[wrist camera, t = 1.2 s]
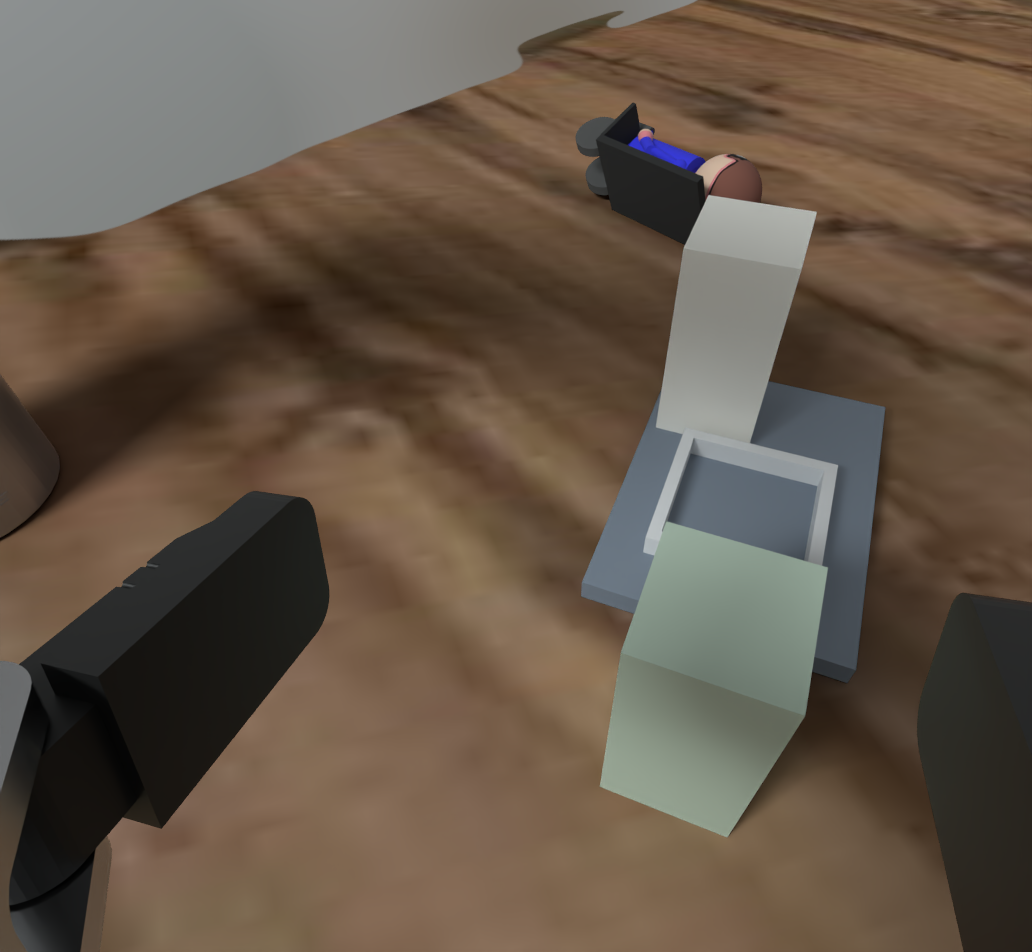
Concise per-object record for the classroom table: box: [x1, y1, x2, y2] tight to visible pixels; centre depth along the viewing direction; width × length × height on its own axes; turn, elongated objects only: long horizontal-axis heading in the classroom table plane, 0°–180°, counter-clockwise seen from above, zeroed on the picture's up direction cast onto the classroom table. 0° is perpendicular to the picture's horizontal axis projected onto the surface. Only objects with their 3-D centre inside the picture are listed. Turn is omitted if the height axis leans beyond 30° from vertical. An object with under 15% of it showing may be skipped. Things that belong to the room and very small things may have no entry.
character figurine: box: [576, 103, 762, 245], centre depth 54 cm, size 8×7×15 cm
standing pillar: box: [656, 195, 817, 443], centre depth 37 cm, size 5×5×11 cm
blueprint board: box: [581, 381, 885, 683], centre depth 37 cm, size 12×17×2 cm
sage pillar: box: [600, 521, 828, 837], centre depth 25 cm, size 5×5×11 cm
